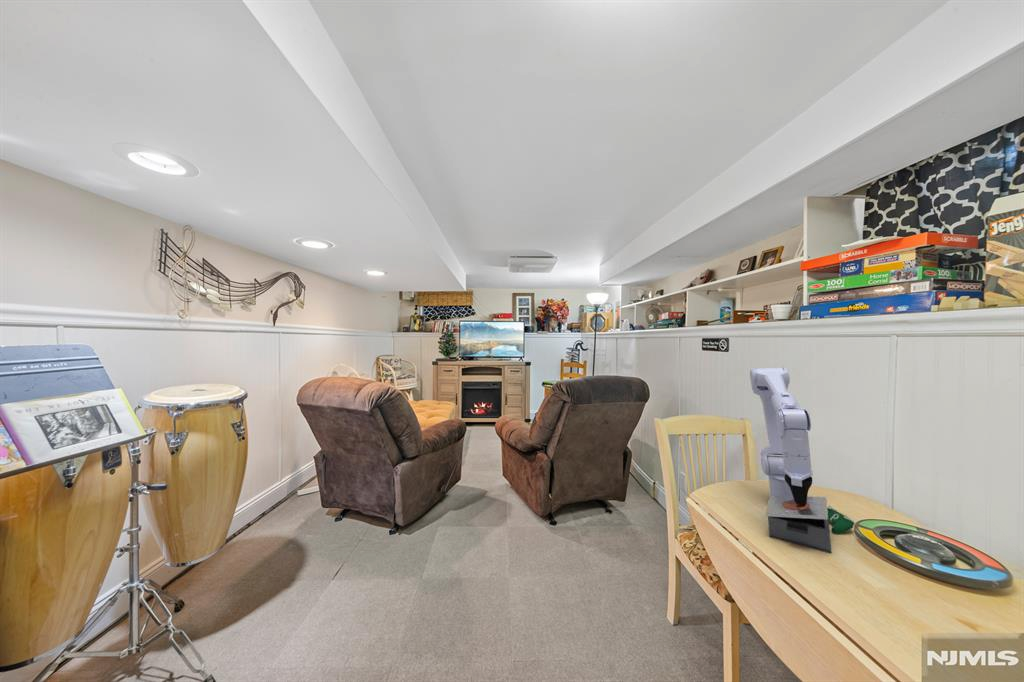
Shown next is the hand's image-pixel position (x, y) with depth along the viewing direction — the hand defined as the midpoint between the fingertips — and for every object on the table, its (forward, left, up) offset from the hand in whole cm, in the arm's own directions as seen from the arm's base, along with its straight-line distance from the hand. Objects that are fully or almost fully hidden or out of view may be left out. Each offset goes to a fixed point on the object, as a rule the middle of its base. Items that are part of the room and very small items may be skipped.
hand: (800, 503), depth 89 cm
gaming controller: (-10, +6, -9) cm, 15 cm away
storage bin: (0, -1, -8) cm, 8 cm away
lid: (0, -1, -1) cm, 2 cm away
